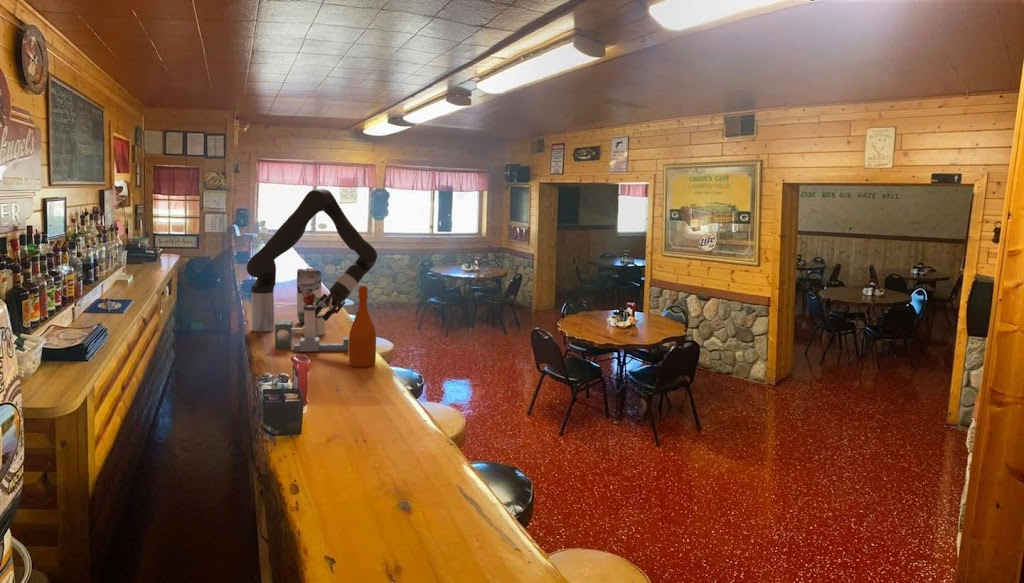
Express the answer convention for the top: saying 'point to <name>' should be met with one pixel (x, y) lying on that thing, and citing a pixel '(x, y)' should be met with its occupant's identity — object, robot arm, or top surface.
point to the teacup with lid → (319, 324)
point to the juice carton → (307, 290)
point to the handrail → (328, 346)
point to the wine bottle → (362, 335)
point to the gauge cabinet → (283, 334)
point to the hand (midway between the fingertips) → (318, 317)
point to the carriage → (309, 331)
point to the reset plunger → (298, 330)
